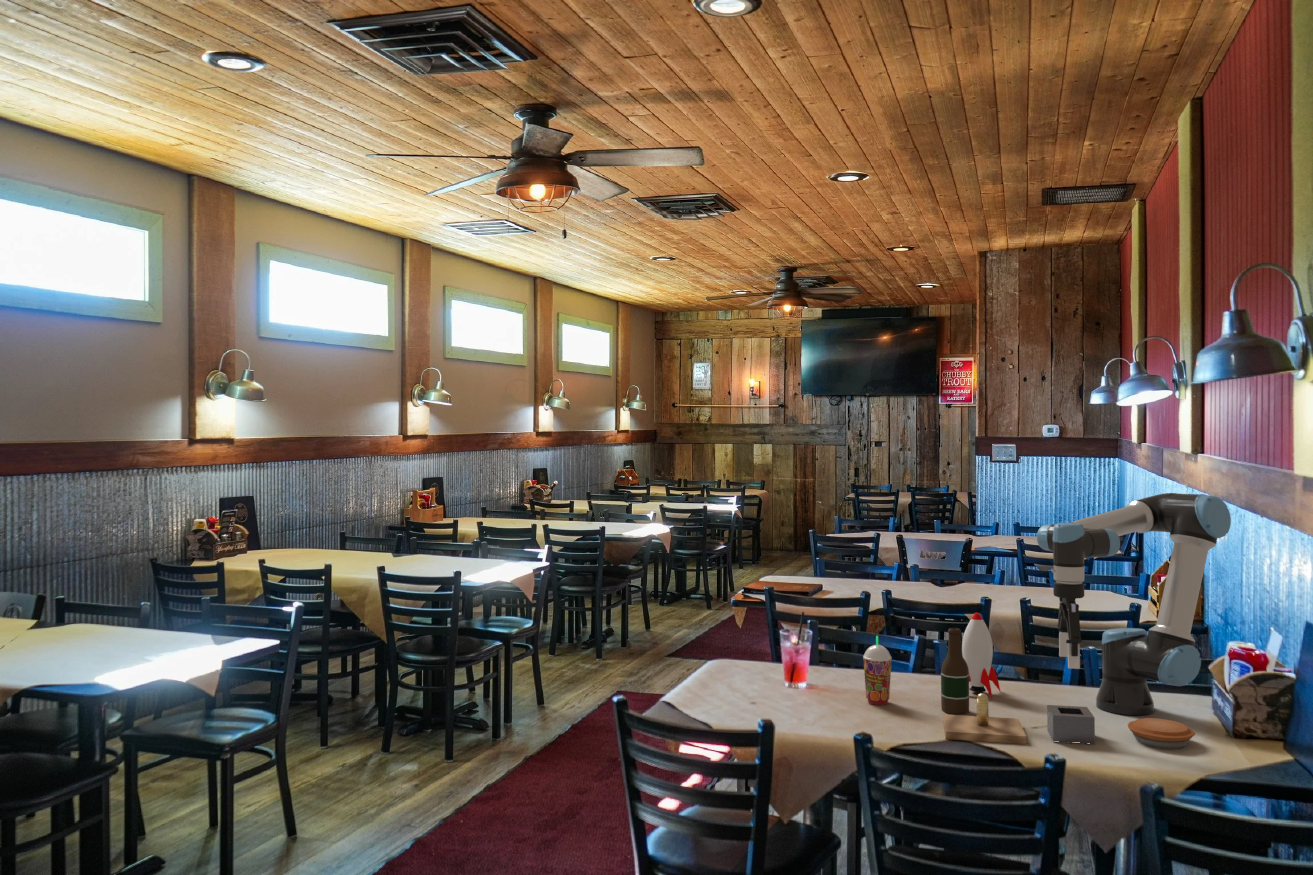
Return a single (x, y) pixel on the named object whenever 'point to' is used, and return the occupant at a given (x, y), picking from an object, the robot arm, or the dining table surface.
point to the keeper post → (982, 710)
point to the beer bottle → (954, 677)
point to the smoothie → (877, 674)
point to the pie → (1161, 733)
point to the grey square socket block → (1070, 724)
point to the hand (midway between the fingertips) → (1069, 662)
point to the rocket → (979, 655)
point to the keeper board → (983, 729)
